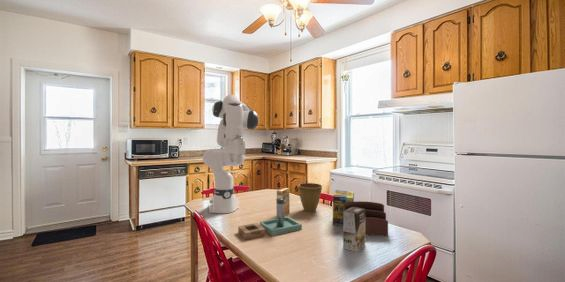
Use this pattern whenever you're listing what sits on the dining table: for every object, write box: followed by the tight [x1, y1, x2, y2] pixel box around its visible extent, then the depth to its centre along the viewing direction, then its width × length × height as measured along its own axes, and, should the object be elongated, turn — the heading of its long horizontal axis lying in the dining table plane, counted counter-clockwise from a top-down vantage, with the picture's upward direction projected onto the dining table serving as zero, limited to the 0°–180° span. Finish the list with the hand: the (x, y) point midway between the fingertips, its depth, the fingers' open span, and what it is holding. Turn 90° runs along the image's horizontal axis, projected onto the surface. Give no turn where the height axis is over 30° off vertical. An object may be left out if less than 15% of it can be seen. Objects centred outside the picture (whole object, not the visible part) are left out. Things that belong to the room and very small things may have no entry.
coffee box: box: [342, 207, 366, 252], centre depth 112 cm, size 9×6×16 cm
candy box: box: [276, 187, 291, 217], centre depth 155 cm, size 9×4×15 cm, turn 150°
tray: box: [259, 216, 303, 237], centre depth 134 cm, size 14×17×2 cm
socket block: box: [237, 222, 266, 240], centre depth 126 cm, size 10×10×3 cm
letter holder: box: [344, 201, 389, 237], centre depth 129 cm, size 10×20×14 cm, turn 80°
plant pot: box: [298, 182, 323, 213], centre depth 164 cm, size 15×15×16 cm
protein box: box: [332, 189, 355, 227], centre depth 143 cm, size 10×15×16 cm
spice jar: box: [275, 197, 285, 227], centre depth 134 cm, size 4×4×14 cm
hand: (235, 162), depth 130 cm, fingers open, 8 cm apart
